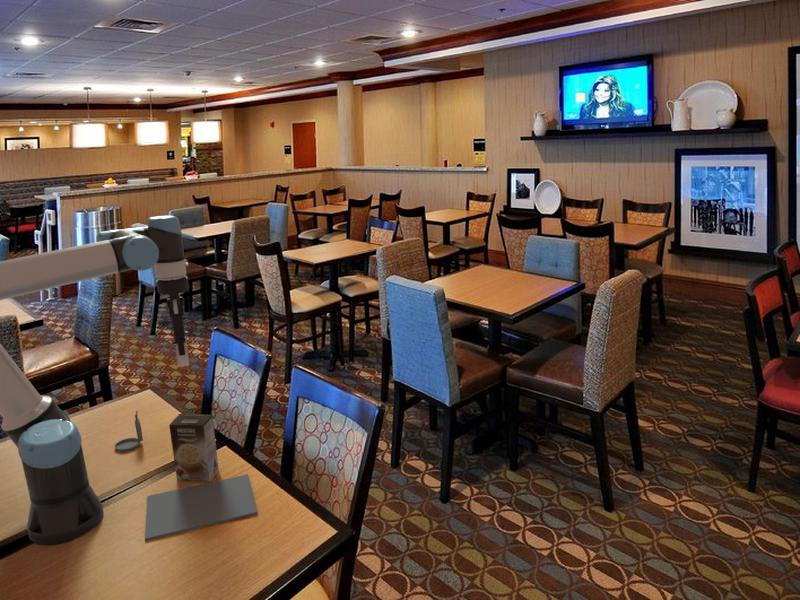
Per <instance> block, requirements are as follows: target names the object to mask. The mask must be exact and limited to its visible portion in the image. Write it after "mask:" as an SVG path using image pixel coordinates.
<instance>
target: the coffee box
mask: <svg viewBox="0 0 800 600" xmlns="http://www.w3.org/2000/svg"><path fill="white" fill-rule="evenodd" d="M168 426H169V427H168V428H169V433H170V441H171V447H172V448H171V449H172V454H173V461H174V462H173V463H174V467H175V476H176V482H178V483H179V482H181V483H182V482H184V483H209V482H212V481H213V479H214V478H215V476H216V475H217V473H218V472H219V471H218V470H219V469H220V468H219V462H218V461H219V460H218V452H217V451H218V450H217V444H216V436H215V426H214V417H213V414H201V413H200V414H198V413H179V414H178V415H177V416H176V417H175V418H174V419H173V420H172V422H171V423H169V425H168Z"/></svg>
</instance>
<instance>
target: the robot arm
mask: <svg viewBox="0 0 800 600" xmlns="http://www.w3.org/2000/svg"><path fill="white" fill-rule="evenodd" d="M184 252H185V251H184V242H183V232H182V228H181V223H180V220H179V218H178V217H177V216H174V215H158V216H157V215H156V216H150V217H148V219H147V223H146V225H144V226H141V227H132V228H131V227H130V228H122V229H109V230H105V231H99V232H98V233H97V234H96V239H95V242H91V243H84V244H82V245H81V244H80V245H75V246H70V247H66V248H65V247H64V248H61V249H56V250H51V251H46V252H42V253H35V254H31V255H27V256H20V257H16V258H11V259H7V260H1V261H0V301H3V300H7V299H11V298H16V297H20V296H21V297H22V296H24V295H28V294H32V293H33V294H34V293H37V292H42V291H45V290H49V289H54V288H58V287H62V286H67V285H71V284H75V283H80V282H84V281H88V280H91V279H97V278H100V277H104V276H109V275H113V274H114V275H115V274H119V273H124V272H127V271H132V270H134V271H146V270H150V269H151V268H153V269H154V274H155V276H154V277H155V278H157V279H156V280H155V281H156V287H157V293H158V294H160V295H163V296H166V295H168V296H169V298H166V305H167V308H168V313H169V317H170V318H171V321H172V323H171V324H172V329H173V335H174V341H172V342H171V343H172V344H171V345H175V353H176V360H177V366H178V368H182V367H188V366H190V358H189V351H188V345H187V344H188V343H187V338H186V335H188V333H189V331H188V330H185V325H184V319H183V316H184V314H185V313H184V312H185V311H184V297H183V296H181V295H180V294H183V293H185V292H188V291H189V289H190V288H189V287H190V286H189V279H188V276H187V267H188V266H189V263H188V262H186V260H185V253H184ZM0 416H1V417H2V418H3V419H2V423H1V424H0V425H1V426H0V427H1V429H2V430H3V432H4V433H5V435H7V437H8V438H9V439H10V440H11V442H12V443H13V444H14V445H15V447H16V448H17V451H18V455H19V457H20V460H21V464H22V468H23V473H24V477H25V482H26V487H27V491H28V495H29V499H30V505H29V506H30V507H29V512H28V518H27V524H26V529H27V535H28V538H29V540H30V541H31V542H32V543H35V544H38V545H48V546H49V545H57V544H62V543H66V542H69V541H72V540H74V539H78V538H79V537H82V536H84V535H86V534H87V533H88V532H90V531H92V530H93V529H95V528H96V527H97V526H98V525H99V523H101V521H102V519H103V518H104V508H103V504H102V501H101V500H100V498H99V497H98V495H97V494H96V492H95V491H94V490H93V488H92V486H91V485H90V480H89V475H88V472H87V466H86V462H85V456H84V452H83V451H84V450H83V447H82V446H83V445H82V435H81V433H80V431H79V428H78V426H77V425H76V424H75V423H74V422H72V421H71V418H70V417H69V416H68V414H67V413H66V412H65V411H64V410H62V409H61V408H60V407H59V406H58V405H57V403H56V402H55V401H54V399H53V398H52V396H50V395H41V394H40V393H39V392H38V391H37V389H36V388H35V387H34V385H33V384H32V383H31V382H30V380H29V379H28V378H27V376H26V375H25V373H24V372H23V371H22V370H21V369H20V367H19V366H18V365H17V364H16V362H15V361H14V359H13V358H12V357H11V355H10V354H9V353H8V351H7V350H6V349H5V348H4V346H3V345H2V343H0Z"/></svg>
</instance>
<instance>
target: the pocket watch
mask: <svg viewBox="0 0 800 600" xmlns="http://www.w3.org/2000/svg"><path fill="white" fill-rule="evenodd" d="M138 415H139V414H138V410H136V411H135V415H134V418H135V419H134V426H135V431H136V435H137V438H136V437H128V438H125V439H121V440H119V441H118V442H116V443H115V444H114V449H115V450H116V451H119V452H126V451H131V450H134V449H135V448H137V447H139V445H140V444H141V442H143V441H144V438H143V437H144V436H143V431H142V426H141V421H140V419H139V418H138Z"/></svg>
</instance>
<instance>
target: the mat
mask: <svg viewBox="0 0 800 600" xmlns="http://www.w3.org/2000/svg"><path fill="white" fill-rule="evenodd" d="M146 497H147V498H146V510H145V512H146V513H145V526H144V527H145V529H144V530H145V532H144V541H145V542H148V541H151V540H154V539H155V540H156V539H160V538H164V537H168V536H172V535H176V534H180V533H184V532H188V531H193V530H197V529H202V528H205V527H210V526H215V525H218V524H222V523H226V522H231V521H235V520H239V519H242V518H247V517H251V516H256V515H259V514H258V513H259V511H258V509H257V504H256V500H255V497H254V492H253V489H252V482H251V479H250V477H249V474H248V473H247V474H243V475H237V476H233V477H228V478H222V479H219V480H215V481H211V482H209V483H206V482H204V483H200V484H196V485H192V486H187V487H183V488H182V487H181V488H177V489H174V490H173V489H172V490H168V491H163V492H160V493H154V494H150V495H147V496H146Z"/></svg>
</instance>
